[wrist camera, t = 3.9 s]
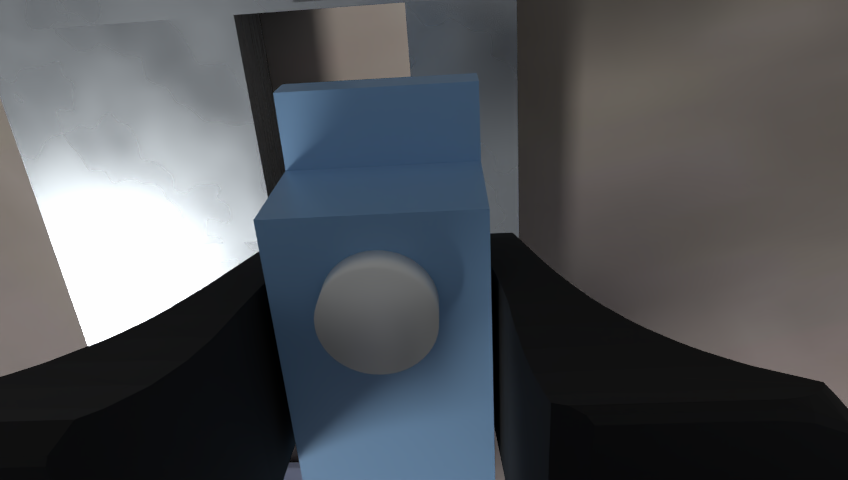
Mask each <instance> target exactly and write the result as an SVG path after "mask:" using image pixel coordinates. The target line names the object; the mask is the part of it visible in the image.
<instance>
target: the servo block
mask: <svg viewBox="0 0 848 480" xmlns="http://www.w3.org/2000/svg"><path fill="white" fill-rule="evenodd" d="M273 96H274V102H275V108H276V115H277V121H278V127H279V133H280V139H281V146H282V152H283V158H284V164H285V170H286V171H285V173H284V174H283V176H282V177H281V179H280V180H279V182H278V183H277V185H276V186H275V188H274V189H273V191H272V192H271V194H270V195H269V197H268V198H267V200H266V202H265V203H264V205H263V206H262V208H261V209H260V211H259V212H258V214H257V215H256V217H255V218H254V220H253V222H254V227H255V232H256V237H257V243H258V248H259V253H260V258H261V264H262V269H263V274H264V279H265V285H266V290H267V295H268V300H269V306H270V311H271V316H272V321H273V327H274V332H275V337H276V342H277V348H278V353H279V358H280V363H281V369H282V374H283V379H284V385H285V390H286V395H287V400H288V406H289V411H290V416H291V421H292V427H293V432H294V437H295V442H296V448H297V453H298V458H299V463H300V469H301V474H302V479H303V480H495V451H494V401H493V351H492V301H491V251H490V208H489V202H488V197H487V191H486V186H485V180H484V175H483V169H482V164H481V142H480V102H479V79H478V75H477V73H467V74H450V75H433V76H416V77H398V78H381V79H364V80H347V81H330V82H312V83H295V84H282V85H281V86H280V87H279V88H278V89H277V90H276V91H274V92H273Z"/></svg>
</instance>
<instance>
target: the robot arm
mask: <svg viewBox="0 0 848 480" xmlns="http://www.w3.org/2000/svg"><path fill="white" fill-rule="evenodd" d="M490 251H491V301H492V351H493V401H494V427H495V432H496V437H497V441H498V446H499V451H500V456H501V461H502V466H503V470H504V475H505V480H848V408H847V407H846V406H845V405H844V404H843V403H842V402H841V400H840V399H839V398H838V397H837V396H836V395H835V394H834V393H833V392H832V391H831V390H830V389H829V388H828V387H827V386H826V385H825V383H824V382H820V381H816V380H811V379H807V378H803V377H798V376H794V375H789V374H785V373H781V372H776V371H772V370H768V369H763V368H759V367H754V366H750V365H747V364H743V363H740V362H736V361H733V360H730V359H727V358H723V357H720V356H717V355H714V354H711V353H707V352H704V351H701V350H699V349H696V348H693V347H690V346H688V345H685V344H682V343H679V342H677V341H675V340H672V339H670V338H667V337H665V336H663V335H660V334H658V333H656V332H653V331H651V330H649V329H646V328H644V327H642V326H640V325H638V324H636V323H634V322H632V321H630V320H628V319H626V318H624V317H623V316H621V315H619V314H617V313H615V312H614V311H612V310H610V309H608V308H606V307H605V306H603V305H601V304H600V303H598V302H597V301H595V300H593V299H592V298H590V297H589V296H587V295H586V294H585V293H583V292H582V291H580V290H579V289H577V288H576V287H575V286H573V285H572V284H570V283H569V282H568V281H566V280H565V279H564V278H563V277H561V276H560V275H559V274H558V273H556V272H555V271H554V270H553V269H551V268H550V267H549V266H548V265H547V264H546V263H544V262H543V261H542V260H541V259H540V258H539V257H538V256H537V255H536V254H535V253H534V252H533V251H532V250H530V249H529V248H528V247H527V246H526V245H525V244H524V243H523V242H522V241H521V240H520V239H519V238H518V237H517V236H516V235H515V234H514V233H513V232H512V233H490ZM295 443H296V442H295V437H294V432H293V427H292V421H291V416H290V411H289V406H288V400H287V395H286V390H285V385H284V379H283V374H282V369H281V363H280V358H279V353H278V348H277V342H276V337H275V332H274V327H273V321H272V316H271V311H270V306H269V300H268V295H267V290H266V285H265V279H264V274H263V269H262V264H261V258H260V253H259V252H257V253H256V254H254V255H253V256H251V257H249V258H248V259H246V260H245V261H243V262H242V263H240V264H239V265H237V266H236V267H234V268H233V269H231V270H230V271H228V272H227V273H225V274H224V275H222V276H221V277H219V278H218V279H216V280H215V281H213V282H212V283H210V284H208V285H207V286H205V287H203V288H202V289H200V290H198V291H197V292H195V293H193V294H192V295H190V296H188V297H187V298H185V299H183V300H182V301H180V302H178V303H177V304H175V305H173V306H172V307H170V308H168V309H167V310H165V311H163V312H161V313H159V314H157V315H155V316H153V317H152V318H150V319H148V320H146V321H144V322H142V323H140V324H138V325H135V326H133V327H131V328H129V329H127V330H125V331H123V332H121V333H119V334H116V335H114V336H112V337H110V338H107V339H105V340H103V341H100V342H98V343H95V344H92V345H90V346H87V347H85V348H82V349H80V350H77V351H74V352H72V353H69V354H67V355H64V356H62V357H59V358H56V359H54V360H51V361H49V362H46V363H43V364H40V365H37V366H34V367H31V368H28V369H24V370H21V371H18V372H15V373H12V374H9V375H6V376H2V377H0V480H303V479H302V474H301V469H300V463H299V462H289V461H290V458H291V455H292V452H293V449H294V446H295Z"/></svg>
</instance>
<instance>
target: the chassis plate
mask: <svg viewBox="0 0 848 480" xmlns="http://www.w3.org/2000/svg"><path fill="white" fill-rule="evenodd" d="M402 2H405V9H406V21H407V34H408V47H409V59H410V72H411V77H416V76H433V75H450V74H467V73H477V75H478V79H479V102H480V142H481V164H482V169H483V175H484V180H485V186H486V191H487V197H488V202H489V208H490V233H512V232H513V233H514V234H515V235H516V236H517V237H518V238H519V188H518V83H517V0H0V98H1V101H2V104H3V107H4V110H5V112H6V115H7V118H8V121H9V124H10V127H11V129H12V132H13V135H14V138H15V141H16V143H17V146H18V149H19V152H20V155H21V158H22V160H23V163H24V166H25V169H26V172H27V175H28V177H29V180H30V183H31V186H32V189H33V191H34V194H35V197H36V200H37V203H38V206H39V208H40V211H41V214H42V217H43V220H44V223H45V225H46V228H47V231H48V234H49V237H50V240H51V242H52V245H53V248H54V251H55V254H56V256H57V259H58V262H59V265H60V268H61V271H62V273H63V276H64V279H65V282H66V285H67V288H68V290H69V293H70V296H71V299H72V302H73V304H74V307H75V310H76V313H77V316H78V319H79V321H80V324H81V327H82V330H83V333H84V336H85V338H86V341H87V344H88V346H90V345H92V344H95V343H98V342H100V341H103V340H105V339H107V338H110V337H112V336H114V335H116V334H119V333H121V332H123V331H125V330H127V329H129V328H131V327H133V326H135V325H138V324H140V323H142V322H144V321H146V320H148V319H150V318H152V317H153V316H155V315H157V314H159V313H161V312H163V311H165V310H167V309H168V308H170V307H172V306H173V305H175V304H177V303H178V302H180V301H182V300H183V299H185V298H187V297H188V296H190V295H192V294H193V293H195V292H197V291H198V290H200V289H202V288H203V287H205V286H207V285H208V284H210V283H212V282H213V281H215V280H216V279H218V278H219V277H221V276H222V275H224V274H225V273H227V272H228V271H230V270H231V269H233V268H234V267H236V266H237V265H239V264H240V263H242V262H243V261H245V260H246V259H248V258H249V257H251V256H253V255H254V254H256V253H257V252H259V248H258V243H257V237H256V232H255V227H254V222H253V220H254V218H255V217H256V215H257V214H258V212H259V211H260V209H261V208H262V206H263V205H264V203H265V202H266V200H267V198H268V197H269V195H270V194H271V192H272V191H273V189H274V188H275V186H276V185H277V183H278V182H279V180H280V179H281V177H282V176H283V174H284V173H285V171H286V170H285V164H284V158H283V152H282V146H281V139H280V133H279V127H278V121H277V115H276V109H275V104H274V98H273V92H272V86H271V80H270V75H269V69H268V63H267V57H266V51H265V45H264V40H263V34H262V28H261V22H260V16H259V13H266V12H280V11H293V10H307V9H321V8H334V7H348V6H361V5H375V4H388V3H402Z"/></svg>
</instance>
